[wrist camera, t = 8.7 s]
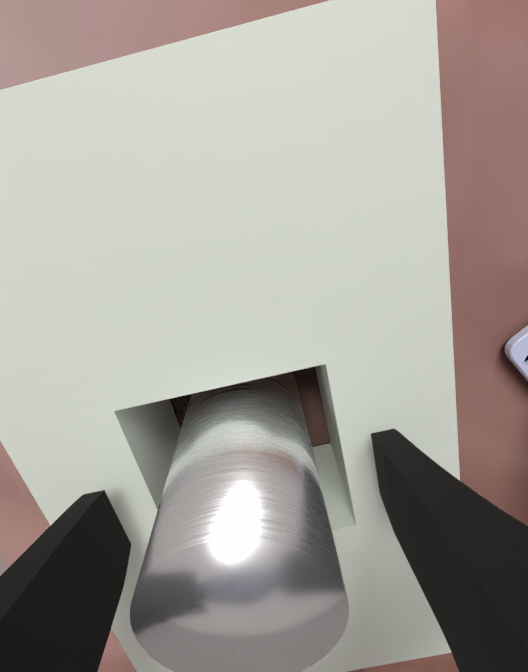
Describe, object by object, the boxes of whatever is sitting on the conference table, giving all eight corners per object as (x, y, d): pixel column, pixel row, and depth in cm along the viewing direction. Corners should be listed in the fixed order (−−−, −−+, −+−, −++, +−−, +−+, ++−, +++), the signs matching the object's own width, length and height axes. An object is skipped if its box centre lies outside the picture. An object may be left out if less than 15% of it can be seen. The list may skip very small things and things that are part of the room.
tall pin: (319, 396, 14) (392, 616, 7) (245, 456, 15) (241, 708, 8) (245, 326, 13) (239, 500, 6) (170, 396, 14) (83, 623, 7)
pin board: (422, 552, 18) (468, 649, 14) (175, 600, 18) (156, 705, 15) (369, 49, 11) (434, -29, 7) (-35, 155, 11) (-178, 138, 7)
